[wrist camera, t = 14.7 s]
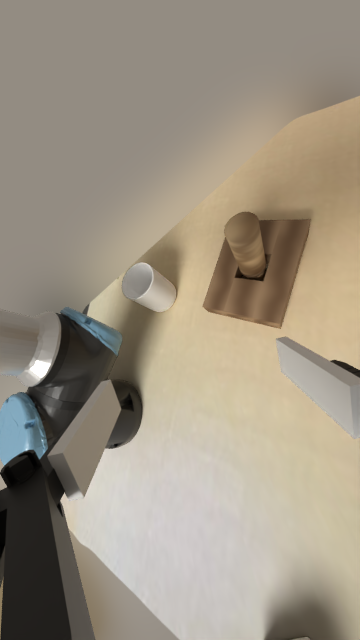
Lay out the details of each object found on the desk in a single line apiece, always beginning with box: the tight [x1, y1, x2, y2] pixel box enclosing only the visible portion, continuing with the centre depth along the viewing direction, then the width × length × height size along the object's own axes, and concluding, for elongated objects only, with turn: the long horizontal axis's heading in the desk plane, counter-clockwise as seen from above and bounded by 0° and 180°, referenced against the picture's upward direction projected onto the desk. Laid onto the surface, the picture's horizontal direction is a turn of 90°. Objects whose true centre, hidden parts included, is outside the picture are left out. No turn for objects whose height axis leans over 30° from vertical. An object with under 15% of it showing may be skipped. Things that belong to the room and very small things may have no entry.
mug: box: [122, 262, 176, 312], centre depth 48 cm, size 9×12×11 cm
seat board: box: [203, 219, 311, 329], centre depth 41 cm, size 15×20×4 cm
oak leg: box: [224, 212, 266, 281], centre depth 35 cm, size 5×5×16 cm
